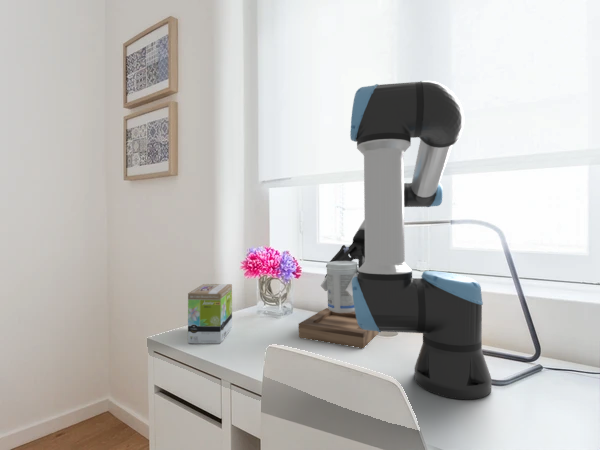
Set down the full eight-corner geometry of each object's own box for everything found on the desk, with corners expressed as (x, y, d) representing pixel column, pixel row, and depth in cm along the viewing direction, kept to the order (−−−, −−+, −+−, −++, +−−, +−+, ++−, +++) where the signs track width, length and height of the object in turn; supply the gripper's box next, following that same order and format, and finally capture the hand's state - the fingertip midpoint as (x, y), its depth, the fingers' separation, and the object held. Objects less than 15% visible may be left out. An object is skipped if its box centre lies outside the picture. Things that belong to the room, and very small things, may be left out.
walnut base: (363, 348, 96) (363, 333, 96) (298, 337, 106) (298, 323, 106) (383, 327, 114) (383, 314, 114) (326, 319, 124) (326, 307, 124)
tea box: (222, 344, 102) (221, 292, 101) (187, 344, 102) (185, 293, 102) (233, 327, 117) (232, 282, 116) (202, 327, 117) (201, 283, 117)
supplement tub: (362, 307, 113) (361, 261, 112) (354, 315, 104) (353, 265, 104) (332, 304, 117) (332, 260, 116) (323, 312, 108) (322, 263, 107)
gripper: (401, 245, 112) (370, 304, 102) (347, 241, 128) (316, 292, 118) (391, 228, 108) (358, 288, 98) (337, 227, 125) (304, 278, 115)
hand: (335, 290), depth 108 cm, fingers closed on supplement tub, 9 cm apart
